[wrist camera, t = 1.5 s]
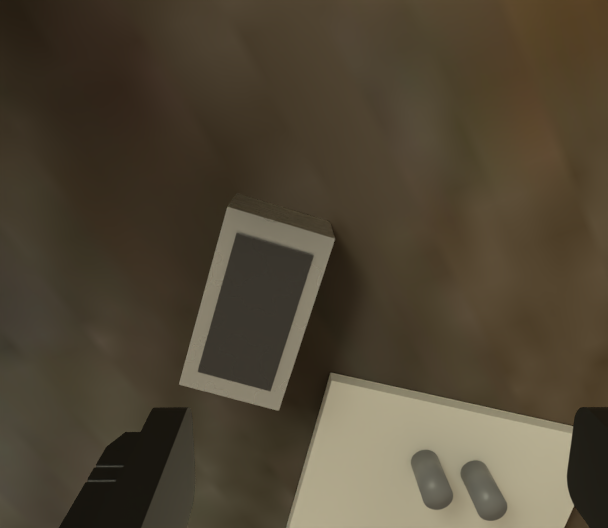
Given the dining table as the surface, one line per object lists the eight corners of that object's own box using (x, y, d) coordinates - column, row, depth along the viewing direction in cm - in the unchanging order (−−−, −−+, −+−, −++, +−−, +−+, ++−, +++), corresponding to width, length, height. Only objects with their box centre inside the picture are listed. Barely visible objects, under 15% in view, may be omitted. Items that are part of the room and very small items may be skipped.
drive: (194, 346, 31) (178, 386, 26) (237, 192, 29) (226, 207, 24) (280, 369, 31) (278, 412, 27) (329, 220, 29) (335, 239, 25)
